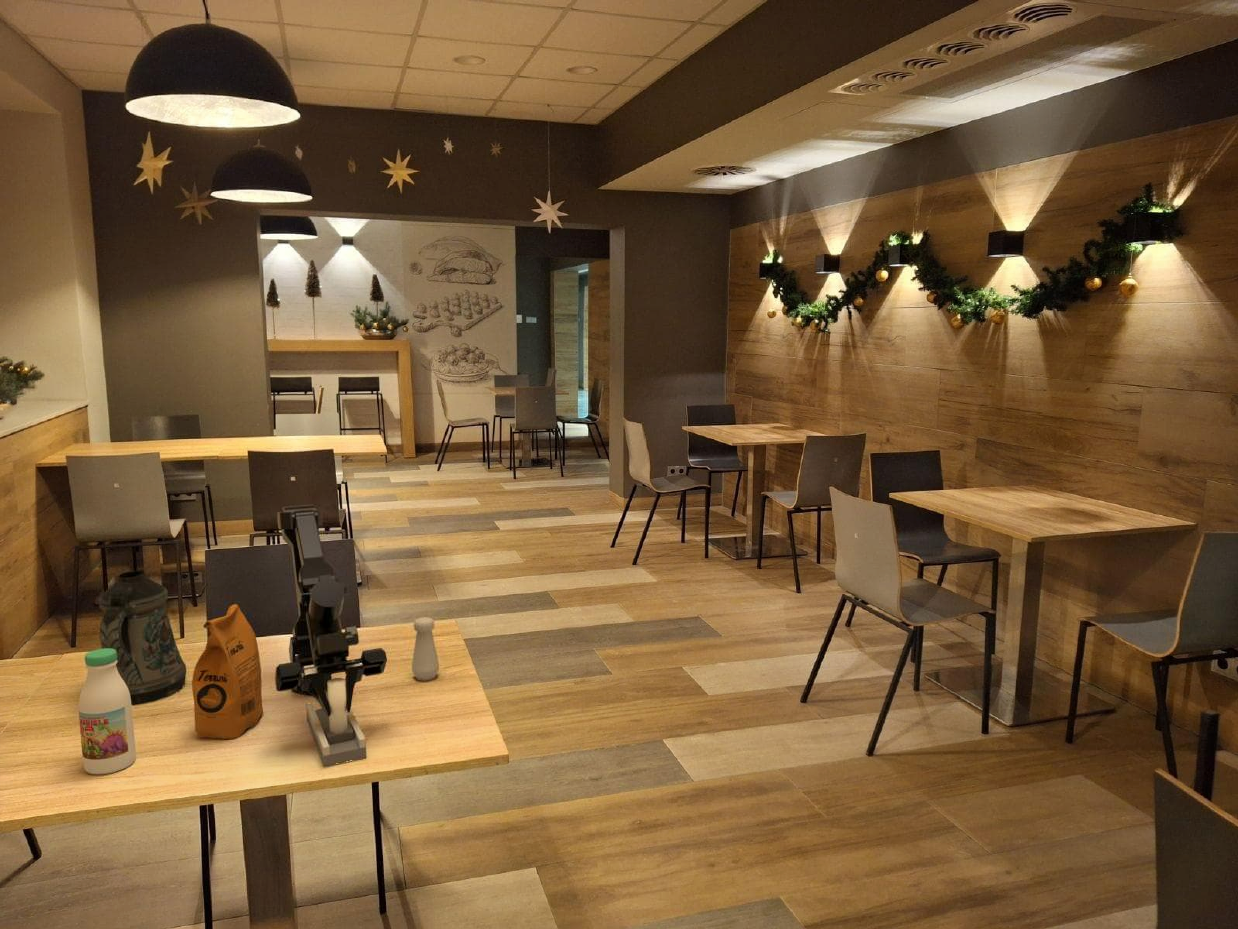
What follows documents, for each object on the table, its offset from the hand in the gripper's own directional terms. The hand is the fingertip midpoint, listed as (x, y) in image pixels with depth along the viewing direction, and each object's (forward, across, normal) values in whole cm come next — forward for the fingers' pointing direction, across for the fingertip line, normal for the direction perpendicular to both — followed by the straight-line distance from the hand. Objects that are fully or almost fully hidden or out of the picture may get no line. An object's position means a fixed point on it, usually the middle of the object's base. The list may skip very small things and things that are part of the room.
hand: (339, 713), depth 149 cm
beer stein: (-27, -31, +38) cm, 56 cm away
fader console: (+1, 0, +9) cm, 9 cm away
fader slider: (+3, 0, +5) cm, 5 cm away
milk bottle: (-4, -36, +15) cm, 39 cm away
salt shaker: (-14, +22, +24) cm, 36 cm away
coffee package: (-9, -17, +20) cm, 27 cm away
